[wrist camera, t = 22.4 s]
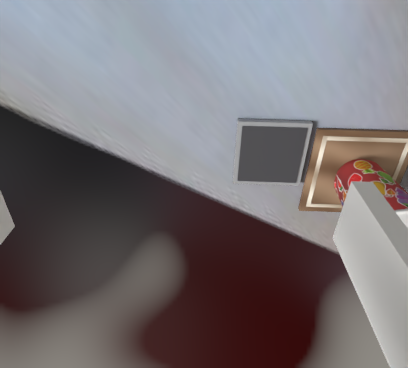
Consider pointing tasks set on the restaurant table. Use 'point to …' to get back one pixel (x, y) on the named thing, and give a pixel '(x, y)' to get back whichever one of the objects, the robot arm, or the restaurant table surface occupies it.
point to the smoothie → (371, 172)
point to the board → (344, 152)
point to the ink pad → (270, 151)
